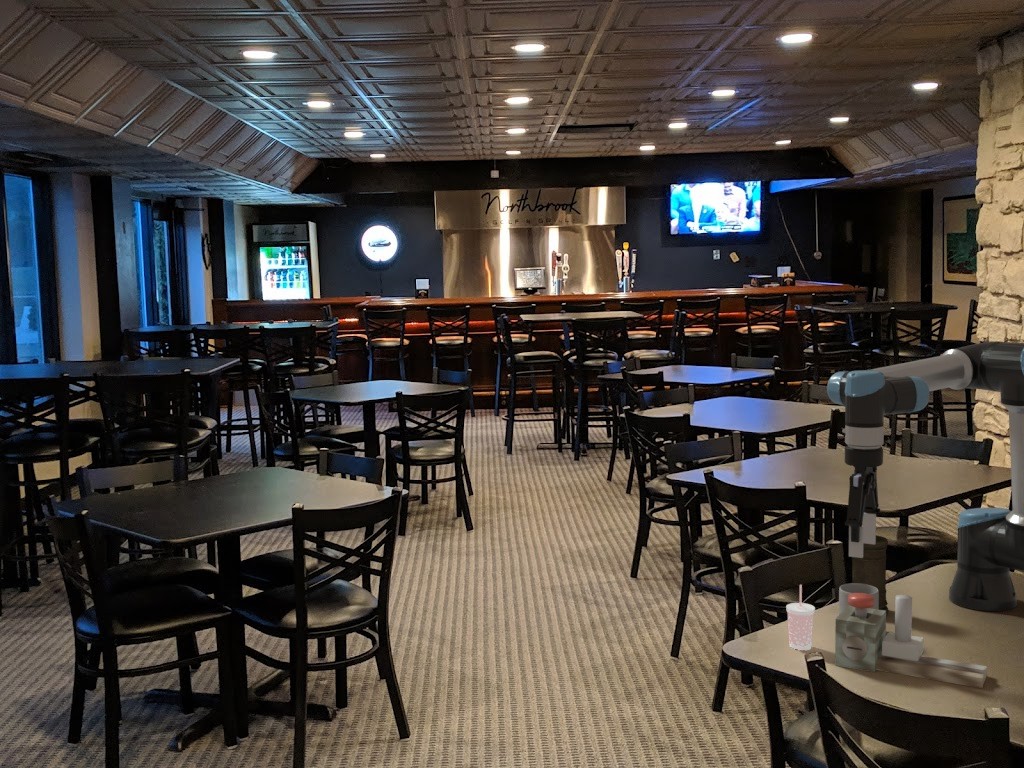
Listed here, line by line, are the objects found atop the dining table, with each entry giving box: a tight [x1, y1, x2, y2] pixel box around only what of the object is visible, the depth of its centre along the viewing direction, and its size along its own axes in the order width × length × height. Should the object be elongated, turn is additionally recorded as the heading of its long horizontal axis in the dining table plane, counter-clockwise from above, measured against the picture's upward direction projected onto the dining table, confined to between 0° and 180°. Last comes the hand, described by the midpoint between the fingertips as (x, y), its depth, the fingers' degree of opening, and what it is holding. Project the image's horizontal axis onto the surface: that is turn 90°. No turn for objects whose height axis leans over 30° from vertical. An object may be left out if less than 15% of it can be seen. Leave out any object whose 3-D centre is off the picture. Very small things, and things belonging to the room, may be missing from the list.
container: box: [851, 534, 889, 615], centre depth 247 cm, size 9×9×18 cm
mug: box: [838, 582, 879, 615], centre depth 233 cm, size 12×8×11 cm
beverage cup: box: [785, 584, 816, 651], centre depth 226 cm, size 6×6×14 cm
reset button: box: [848, 593, 874, 619], centre depth 216 cm, size 5×5×6 cm
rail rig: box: [834, 605, 988, 689], centre depth 212 cm, size 28×11×10 cm, turn 58°
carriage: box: [882, 594, 925, 661], centre depth 212 cm, size 7×6×12 cm
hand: (862, 550), depth 215 cm, fingers open, 11 cm apart
